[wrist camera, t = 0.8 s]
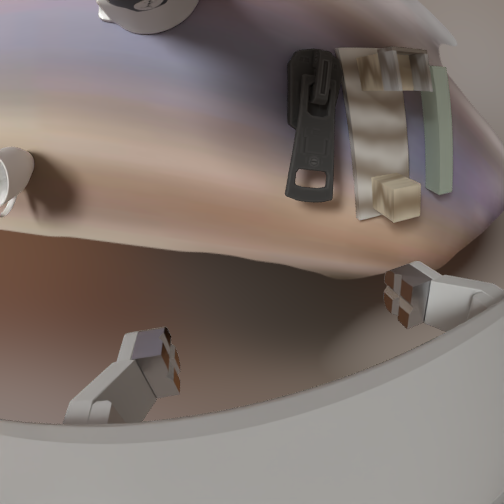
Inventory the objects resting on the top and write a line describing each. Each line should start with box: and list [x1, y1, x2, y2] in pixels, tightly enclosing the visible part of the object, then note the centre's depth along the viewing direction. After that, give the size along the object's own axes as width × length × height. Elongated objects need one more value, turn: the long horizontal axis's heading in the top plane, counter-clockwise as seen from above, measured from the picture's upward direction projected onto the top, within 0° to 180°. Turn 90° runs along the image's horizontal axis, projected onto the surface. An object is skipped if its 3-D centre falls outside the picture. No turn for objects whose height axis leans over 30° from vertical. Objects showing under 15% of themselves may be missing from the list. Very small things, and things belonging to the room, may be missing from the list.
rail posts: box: [335, 46, 433, 223], centre depth 41 cm, size 32×12×13 cm, turn 12°
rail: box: [421, 66, 453, 195], centre depth 46 cm, size 26×4×5 cm, turn 12°
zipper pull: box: [285, 49, 343, 202], centre depth 42 cm, size 9×7×25 cm
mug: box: [0, 147, 34, 217], centre depth 35 cm, size 12×9×12 cm
